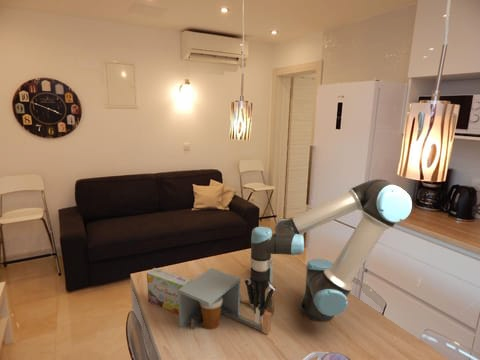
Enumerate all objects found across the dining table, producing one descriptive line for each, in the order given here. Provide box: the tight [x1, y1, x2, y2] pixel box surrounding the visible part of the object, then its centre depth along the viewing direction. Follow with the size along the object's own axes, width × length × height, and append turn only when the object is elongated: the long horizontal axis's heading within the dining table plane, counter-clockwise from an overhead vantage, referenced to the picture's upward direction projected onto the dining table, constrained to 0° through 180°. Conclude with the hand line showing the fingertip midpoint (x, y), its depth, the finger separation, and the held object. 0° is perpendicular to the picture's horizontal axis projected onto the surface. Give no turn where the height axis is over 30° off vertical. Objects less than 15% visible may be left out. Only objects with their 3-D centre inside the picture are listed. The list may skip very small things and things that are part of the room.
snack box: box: [146, 267, 193, 315], centre depth 136 cm, size 21×6×15 cm, turn 62°
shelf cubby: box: [178, 267, 241, 329], centre depth 127 cm, size 15×21×17 cm
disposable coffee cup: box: [199, 296, 223, 330], centre depth 125 cm, size 10×10×12 cm
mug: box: [270, 259, 274, 283], centre depth 162 cm, size 14×9×10 cm
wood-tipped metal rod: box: [190, 307, 273, 335], centre depth 122 cm, size 27×16×8 cm, turn 57°
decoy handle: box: [240, 295, 276, 318], centre depth 138 cm, size 20×2×8 cm, turn 57°
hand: (258, 321), depth 124 cm, fingers closed
